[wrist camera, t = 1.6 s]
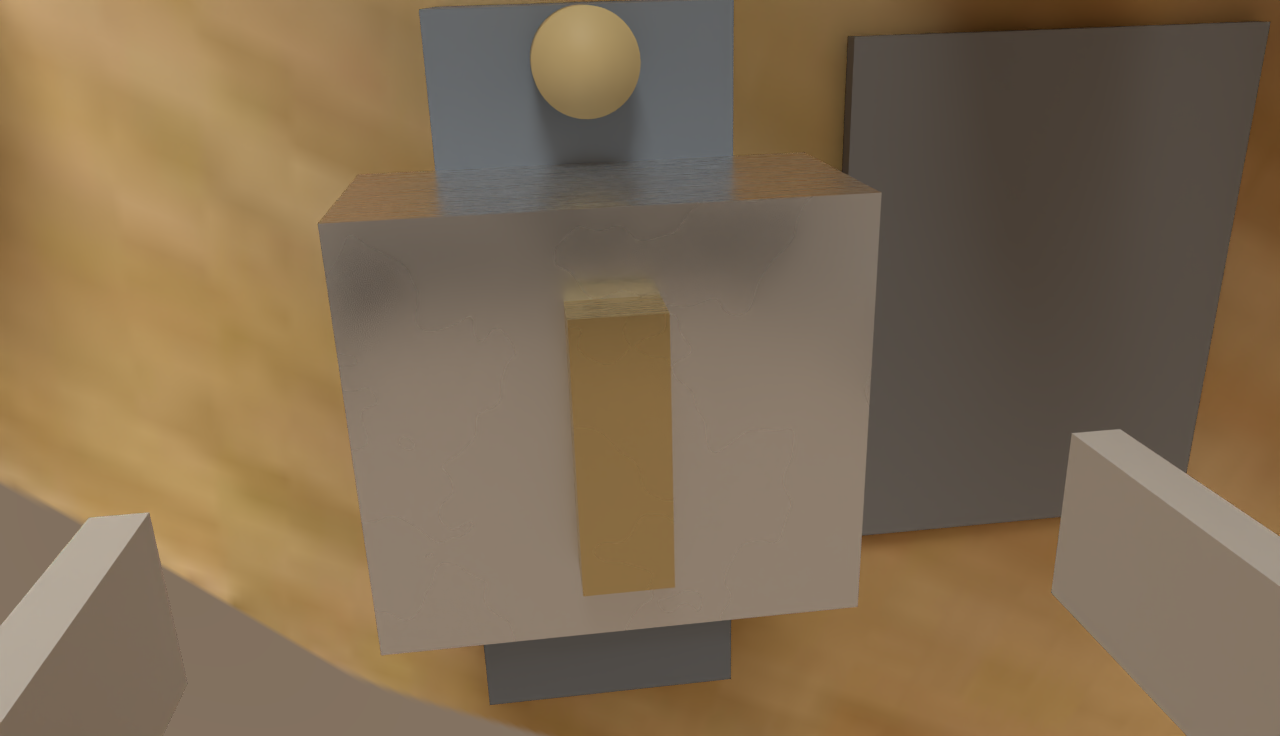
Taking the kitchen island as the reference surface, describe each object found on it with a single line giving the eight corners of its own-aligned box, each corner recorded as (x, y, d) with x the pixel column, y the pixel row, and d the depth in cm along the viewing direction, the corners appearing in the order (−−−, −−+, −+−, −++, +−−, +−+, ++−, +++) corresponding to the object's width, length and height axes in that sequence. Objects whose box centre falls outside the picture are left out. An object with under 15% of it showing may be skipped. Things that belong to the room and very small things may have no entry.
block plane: (436, 6, 23) (413, 10, 17) (689, -2, 24) (747, -1, 18) (492, 590, 29) (489, 739, 23) (695, 571, 29) (741, 711, 24)
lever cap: (358, 174, 19) (305, 238, 14) (803, 152, 20) (904, 204, 15) (404, 531, 22) (374, 691, 17) (794, 497, 23) (875, 638, 18)
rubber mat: (848, 36, 25) (854, 37, 24) (1256, 21, 26) (1270, 21, 25) (826, 529, 30) (831, 538, 29) (1170, 497, 31) (1180, 505, 30)
